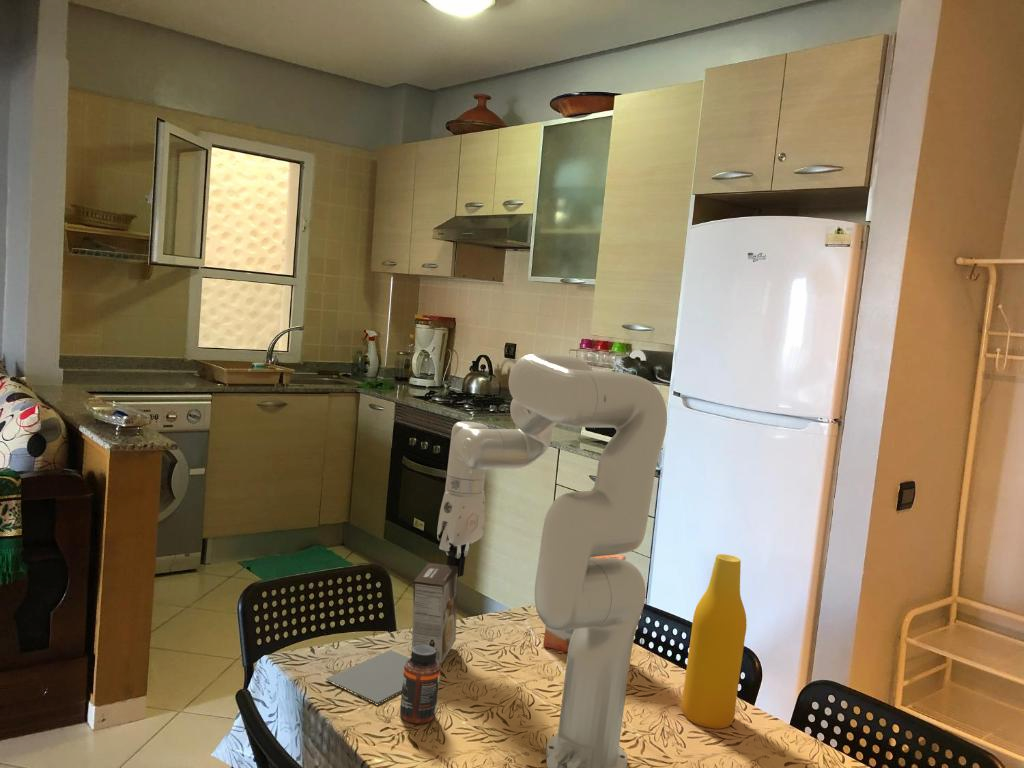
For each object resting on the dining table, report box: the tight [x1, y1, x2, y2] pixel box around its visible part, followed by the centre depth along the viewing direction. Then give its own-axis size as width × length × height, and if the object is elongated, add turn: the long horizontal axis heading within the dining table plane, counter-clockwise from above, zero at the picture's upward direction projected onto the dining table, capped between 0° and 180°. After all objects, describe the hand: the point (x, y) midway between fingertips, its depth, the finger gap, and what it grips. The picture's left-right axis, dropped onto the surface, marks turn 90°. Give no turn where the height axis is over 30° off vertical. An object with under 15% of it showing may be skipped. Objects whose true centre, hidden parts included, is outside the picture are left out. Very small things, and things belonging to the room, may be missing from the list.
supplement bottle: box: [399, 645, 441, 725], centre depth 129 cm, size 6×6×11 cm
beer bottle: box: [680, 553, 747, 730], centre depth 139 cm, size 9×9×29 cm
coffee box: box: [411, 562, 459, 664], centre depth 152 cm, size 9×6×16 cm
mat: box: [325, 649, 411, 705], centre depth 142 cm, size 17×12×1 cm
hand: (454, 574), depth 157 cm, fingers closed
